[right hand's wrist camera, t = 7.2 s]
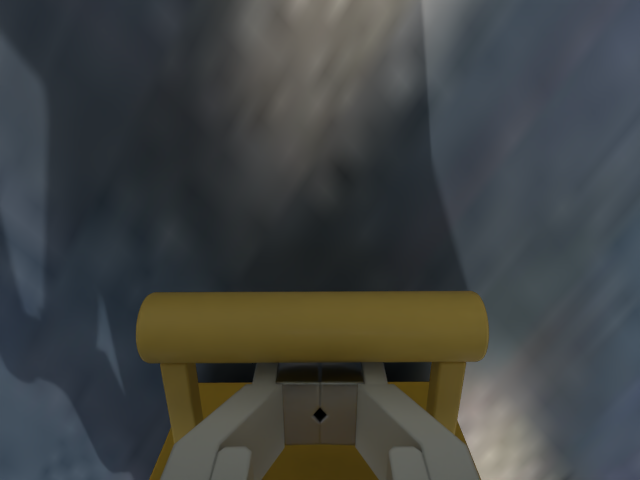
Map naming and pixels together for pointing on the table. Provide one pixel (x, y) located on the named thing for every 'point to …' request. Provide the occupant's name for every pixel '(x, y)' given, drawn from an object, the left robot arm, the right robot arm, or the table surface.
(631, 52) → the table surface
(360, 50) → the table surface
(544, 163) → the table surface
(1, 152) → the table surface
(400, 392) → the right robot arm
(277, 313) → the yellow drawer
